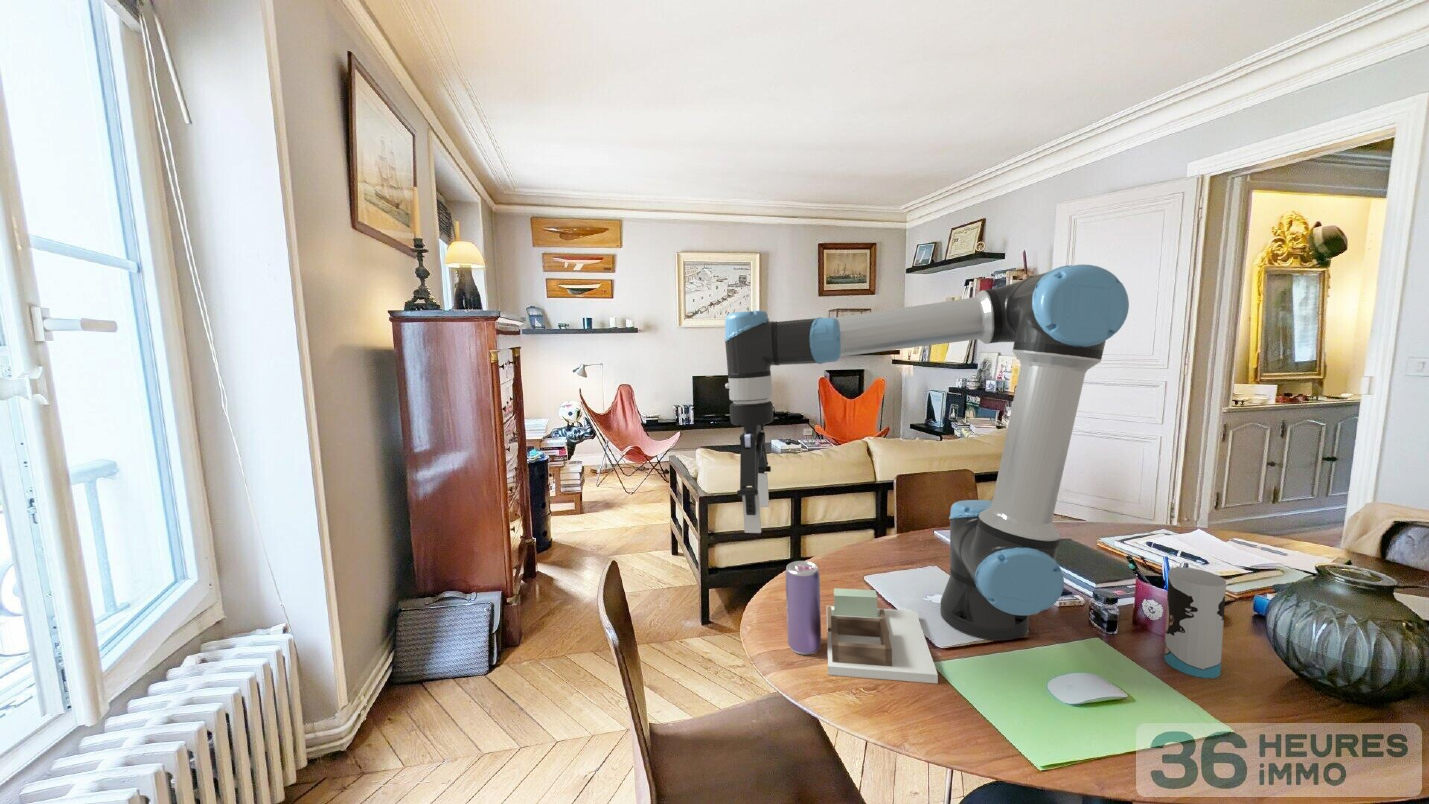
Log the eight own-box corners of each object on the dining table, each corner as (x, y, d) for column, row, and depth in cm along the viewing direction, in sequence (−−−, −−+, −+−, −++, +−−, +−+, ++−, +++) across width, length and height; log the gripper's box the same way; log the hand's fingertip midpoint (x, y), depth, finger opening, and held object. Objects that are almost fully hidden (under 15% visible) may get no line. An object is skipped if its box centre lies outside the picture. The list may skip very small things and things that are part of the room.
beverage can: (821, 657, 91) (819, 575, 89) (786, 655, 92) (784, 573, 90) (821, 638, 97) (819, 560, 95) (789, 636, 98) (786, 559, 96)
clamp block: (875, 609, 103) (875, 590, 103) (877, 617, 100) (877, 597, 100) (834, 607, 105) (833, 588, 104) (834, 615, 102) (834, 595, 101)
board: (915, 617, 102) (915, 607, 102) (937, 683, 83) (937, 670, 82) (826, 612, 106) (826, 602, 105) (828, 674, 86) (827, 662, 86)
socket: (885, 634, 94) (884, 618, 94) (892, 666, 85) (891, 649, 85) (831, 631, 96) (830, 615, 96) (832, 662, 87) (832, 645, 87)
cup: (1215, 660, 85) (1221, 572, 83) (1224, 683, 80) (1230, 590, 78) (1161, 648, 89) (1165, 564, 87) (1166, 669, 83) (1171, 580, 82)
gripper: (740, 394, 104) (746, 497, 106) (715, 411, 80) (724, 544, 82) (777, 392, 103) (783, 497, 105) (764, 409, 78) (772, 545, 81)
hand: (757, 518), depth 94 cm, fingers open, 13 cm apart
